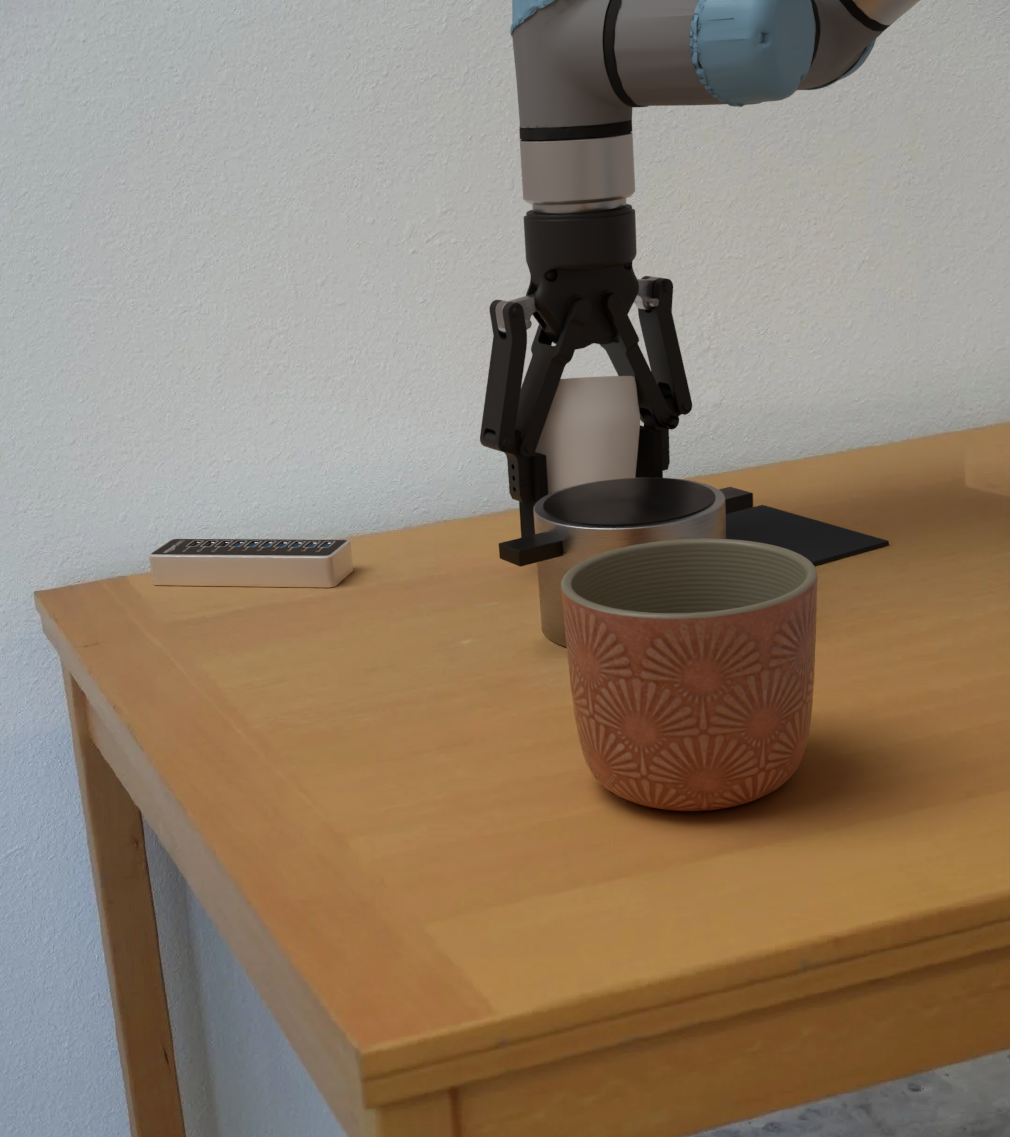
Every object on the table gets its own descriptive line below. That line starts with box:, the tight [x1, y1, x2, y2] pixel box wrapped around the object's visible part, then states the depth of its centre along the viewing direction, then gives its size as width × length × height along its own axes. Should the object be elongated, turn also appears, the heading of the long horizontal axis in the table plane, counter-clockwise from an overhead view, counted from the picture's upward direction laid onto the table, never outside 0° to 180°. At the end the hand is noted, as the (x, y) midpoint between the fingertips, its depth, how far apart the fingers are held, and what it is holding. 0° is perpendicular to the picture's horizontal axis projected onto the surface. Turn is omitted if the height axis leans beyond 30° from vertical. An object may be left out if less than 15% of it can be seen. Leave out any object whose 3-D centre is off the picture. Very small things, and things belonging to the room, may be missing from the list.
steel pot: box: [498, 477, 754, 648], centre depth 108 cm, size 12×18×8 cm, turn 122°
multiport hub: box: [148, 538, 354, 589], centre depth 125 cm, size 4×14×2 cm, turn 75°
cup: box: [521, 375, 641, 494], centre depth 122 cm, size 9×9×12 cm
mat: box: [726, 504, 890, 566], centre depth 124 cm, size 14×14×1 cm
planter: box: [561, 539, 819, 812], centre depth 85 cm, size 12×12×11 cm
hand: (593, 529), depth 123 cm, fingers closed on cup, 9 cm apart
